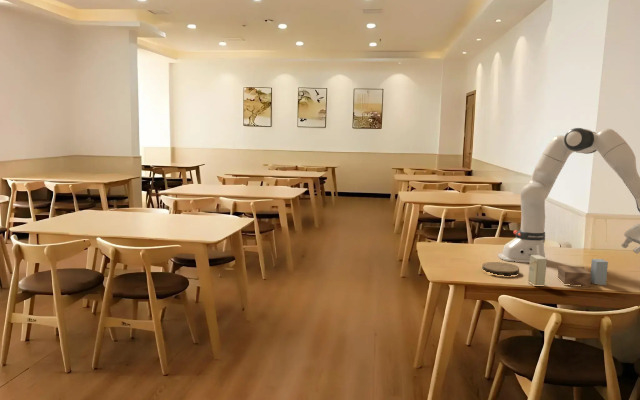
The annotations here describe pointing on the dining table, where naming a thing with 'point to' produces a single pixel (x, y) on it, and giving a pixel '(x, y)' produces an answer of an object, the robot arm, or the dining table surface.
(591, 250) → the dining table surface
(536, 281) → the skincare box
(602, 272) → the slate block
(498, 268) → the grey brown disc
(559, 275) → the walnut block
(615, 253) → the dining table surface
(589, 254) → the dining table surface
